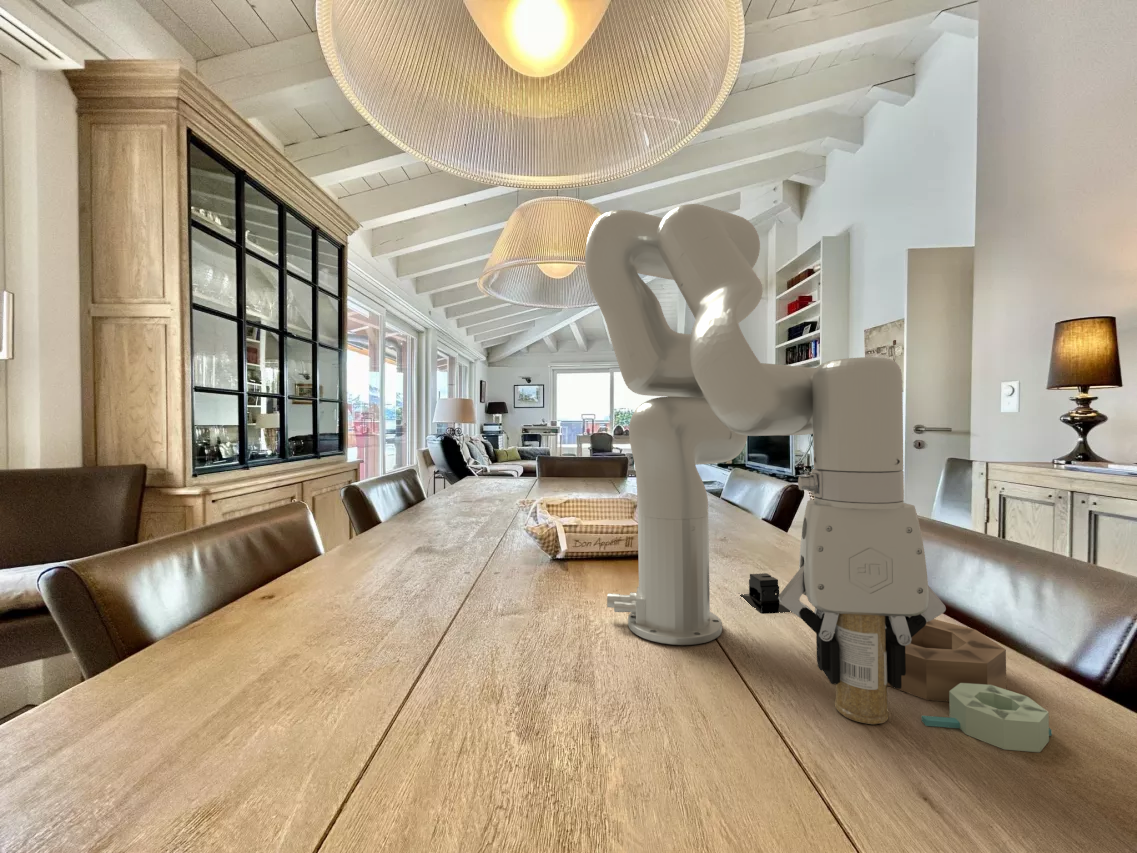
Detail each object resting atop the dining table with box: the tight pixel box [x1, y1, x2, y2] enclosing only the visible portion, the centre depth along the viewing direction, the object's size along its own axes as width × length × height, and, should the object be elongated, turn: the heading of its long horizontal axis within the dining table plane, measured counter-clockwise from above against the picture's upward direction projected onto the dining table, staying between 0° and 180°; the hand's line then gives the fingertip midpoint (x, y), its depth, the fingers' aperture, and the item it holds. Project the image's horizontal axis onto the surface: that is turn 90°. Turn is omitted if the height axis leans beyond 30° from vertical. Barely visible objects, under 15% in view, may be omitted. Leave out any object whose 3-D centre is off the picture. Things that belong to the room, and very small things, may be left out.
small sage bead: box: [949, 683, 1050, 753], centre depth 47 cm, size 6×6×2 cm
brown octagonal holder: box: [887, 618, 1007, 703], centre depth 58 cm, size 13×13×4 cm
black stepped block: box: [740, 572, 790, 615], centre depth 81 cm, size 12×7×5 cm, turn 6°
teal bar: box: [920, 714, 1053, 737], centre depth 47 cm, size 10×1×1 cm, turn 80°
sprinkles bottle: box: [834, 614, 890, 725], centre depth 50 cm, size 5×5×13 cm
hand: (860, 677), depth 50 cm, fingers open, 4 cm apart
